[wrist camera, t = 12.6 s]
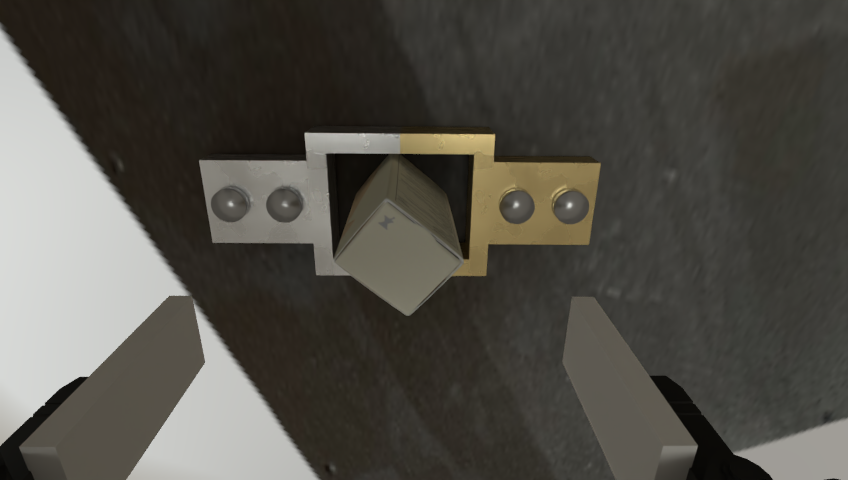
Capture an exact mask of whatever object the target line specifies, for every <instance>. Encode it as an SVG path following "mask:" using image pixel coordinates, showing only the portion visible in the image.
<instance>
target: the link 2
mask: <svg viewBox="0 0 848 480" xmlns="http://www.w3.org/2000/svg"><path fill="white" fill-rule="evenodd" d="M494 145H495V134H494V133H493V132H492V131H491V129H490V128H489V127H408V126H402V128H401V132H400V154H469V166H468V188H467V211H466V233H465V243H459V244H460V248H461V252H462V256H463V259H464V264H463V265H462V266H461V267H460V268H459V269H458V270H457V271H456V272H455V273H454V274H453V275H452V276H486V270H487V255H488V244H550V245H589V240H590V233H591V226H592V220H593V213H594V206H595V199H596V193H597V186H598V179H599V172H600V166H601V163H600V162H598V161H597V160H595V159H593V158H592V157H570V156H494Z"/></svg>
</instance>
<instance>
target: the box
mask: <svg viewBox="0 0 848 480" xmlns="http://www.w3.org/2000/svg"><path fill="white" fill-rule="evenodd" d="M334 262H335V263H336V264H337V265H338V266H340V267H341V268H342V269H343V270H345V271H346V272H347V273H349V274H350V275H351V276H352V277H354V278H355V279H356V280H358V281H359V282H360V283H362V284H363V285H364V286H366V287H367V288H368V289H370V290H371V291H372V292H374V293H375V294H377V295H378V296H379V297H381V298H382V299H384V300H385V301H386V302H388V303H389V304H391V305H392V306H393V307H395V308H396V309H398V310H399V311H401V312H402V313H403V314H405V315H406V316H409V315H411V314H412V313H413V312H414V311H415V310H416V309H418V308H419V307H420V306H421V305H422V304H423V303H424V302H425V301H426V300H427V299H428V298H429V297H430V296H431V295H432V294H433V293H434V292H436V290H437V289H439V288H440V287H441V286H442V285H443V284H444V283H445V282H446V281H447V280H448V279H449V278H450V277H451V276H452V275H453V274H454V273H455V272H456V271H457V270H458V269H459V268H460V267H461V266H462V265H463V264H464V259H463V256H462V252H461V248H460V244H459V240H458V236H457V232H456V228H455V224H454V220H453V216H452V212H451V209H450V205H449V201H448V197H447V194H446V193H445V192H444V191H443V190H442V189H441V188H440V187H439V186H438V185H437V184H436V183H434V182H433V181H432V180H431V179H430V178H429V177H427V176H426V175H425V174H424V173H423V172H421V171H420V170H419V169H418V168H417V167H415V166H414V165H413V164H412V163H411V162H409V161H408V160H407V159H406V158H404V157H403V156H402V155H401V154H389V155H388V156H387V157H386V158H385V159H384V160H383V162H382V163H381V164H380V165H379V166H378V167H377V168H376V170H375V171H374V172H373V173H372V174H371V175H370V177H369V178H368V179H367V180H366V182H365V183H364V184H363V185H362V186H361V188H360V189H359V190H358V192H357V193H356V196H355V199H354V202H353V204H352V207H351V211H350V213H349V216H348V219H347V222H346V225H345V228H344V230H343V233H342V236H341V239H340V242H339V245H338V248H337V251H336V254H335V257H334Z"/></svg>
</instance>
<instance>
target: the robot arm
mask: <svg viewBox="0 0 848 480" xmlns="http://www.w3.org/2000/svg"><path fill="white" fill-rule="evenodd" d="M204 363H205V360H204V354H203V349H202V344H201V339H200V334H199V329H198V324H197V320H196V314H195V309H194V304H193V299H192V296H169V297H168V298H167V299H166V300H165V301H164V302H163V303H162V304H161V305H160V306H159V307H158V308H157V309H156V310H155V311H154V312H153V313H152V314H151V315H150V316H149V317H148V318H147V319H146V320H145V321H144V322H143V323H142V324H141V325H140V326H139V327H138V328H137V329H136V330H135V331H134V332H133V333H132V334H131V335H130V336H129V337H128V338H127V339H126V340H125V341H124V342H123V343H122V344H121V345H120V346H119V347H118V348H117V349H116V350H115V351H114V352H113V353H112V354H111V355H110V356H109V357H108V358H107V359H106V360H105V361H104V362H103V363H102V364H101V365H100V366H99V367H98V368H97V369H96V370H95V371H94V372H93V373H92V374H91V375H90V376H89V377H79V378H77V379H75V380H74V381H72V382H71V383H69V384H67V385H66V386H64V387H62V388H61V389H59V390H58V391H57V392H56V393H55V394H54V395H53V396H52V397H51V398H50V399H49V400H48V401H47V402H46V403H45V406H42V407H40V408H39V409H38V410H37V411H36V412H35V413H34V414H33V417H30V418H29V419H28V420H27V421H26V422H25V423H24V424H23V425H22V426H21V427H20V428H19V429H18V430H16V431H15V432H14V433H13V434H12V435H11V436H10V437H9V438H8V439H7V440H6V441H5V442H4V443H3V444H2V445H1V446H0V480H126V479H127V477H128V476H129V475H130V473H131V472H132V470H133V469H134V467H135V466H136V464H137V462H138V461H139V460H140V458H141V457H142V455H143V454H144V452H145V451H146V449H147V448H148V446H149V445H150V443H151V442H152V440H153V439H154V437H155V436H156V435H157V433H158V431H159V430H160V429H161V427H162V426H163V424H164V423H165V421H166V420H167V418H168V417H169V415H170V414H171V412H172V411H173V409H174V408H175V406H176V405H177V403H178V402H179V400H180V399H181V397H182V396H183V394H184V393H185V391H186V390H187V388H188V387H189V386H190V384H191V383H192V381H193V380H194V378H195V377H196V375H197V374H198V372H199V371H200V369H201V368H202V366H203V365H204ZM562 363H563V365H564V367H565V369H566V372H567V374H568V376H569V378H570V380H571V382H572V385H573V387H574V389H575V391H576V393H577V396H578V398H579V400H580V402H581V404H582V407H583V409H584V411H585V413H586V415H587V418H588V420H589V422H590V424H591V426H592V428H593V431H594V433H595V435H596V437H597V439H598V442H599V444H600V446H601V448H602V450H603V453H604V455H605V457H606V459H607V461H608V464H609V466H610V468H611V470H612V472H613V475H614V477H615V479H616V480H773V479H772V478H771V477H770V475H769V474H768V473H766V472H765V471H764V470H763V469H762V468H761V467H760V466H758V465H756V464H755V463H753V462H751V461H749V460H748V459H745V458H742V457H739V456H736V455H734V454H733V453H732V452H731V450H730V449H729V448H728V446H727V445H726V444H725V443H724V441H723V440H722V439H721V437H720V436H719V435H718V433H717V432H716V431H715V430H714V428H713V427H712V426H711V424H710V423H709V422H708V421H707V419H706V418H705V417H704V415H701V411H700V410H699V409H698V408H697V406H696V405H695V404H693V401H692V400H691V399H690V397H689V396H688V395H687V393H686V392H685V391H684V389H683V388H682V387H680V386H679V385H678V384H676V383H675V382H674V381H672V380H671V379H670V378H668V377H667V376H649V375H648V374H647V372H646V371H645V369H644V368H643V366H642V365H641V364H640V362H639V361H638V359H637V358H636V356H635V355H634V354H633V352H632V351H631V349H630V348H629V346H628V345H627V344H626V342H625V341H624V339H623V338H622V336H621V335H620V334H619V332H618V331H617V329H616V328H615V326H614V325H613V324H612V322H611V321H610V319H609V318H608V316H607V315H606V314H605V312H604V311H603V309H602V308H601V307H600V305H599V304H598V302H597V301H596V299H595V298H594V297H572V300H571V307H570V314H569V320H568V327H567V334H566V341H565V348H564V355H563V362H562ZM827 480H839V479H827Z"/></svg>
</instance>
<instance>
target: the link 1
mask: <svg viewBox="0 0 848 480" xmlns="http://www.w3.org/2000/svg"><path fill="white" fill-rule="evenodd" d="M401 128H402V126H314V127H312V128H311V129H309V130H308V131H307V132H305V133H304V134H305V146H306V155H302V154H211V155H209V156H206V157H204V158H202V159H200V160H199V163H200V169H201V175H202V181H203V187H204V193H205V199H206V205H207V211H208V217H209V223H210V229H211V235H212V241H213V243H314V255H315V267H316V275H350V274H349V273H347V272H346V271H345V270H343V269H342V268H341V267H340V266H338V265H337V264H336V263H335V262H334V257H335V254H336V251H337V248H338V245H339V242H340V232H339V215H338V199H337V182H336V165H335V153H363V154H400V132H401Z"/></svg>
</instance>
